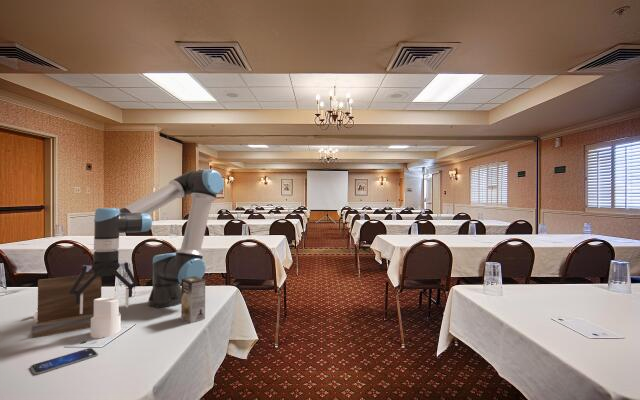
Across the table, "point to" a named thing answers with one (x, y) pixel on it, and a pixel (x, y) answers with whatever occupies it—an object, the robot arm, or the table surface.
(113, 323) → the white stepped block
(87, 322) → the wooden arch stand
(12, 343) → the table surface
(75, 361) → the smartphone
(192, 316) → the coffee box
